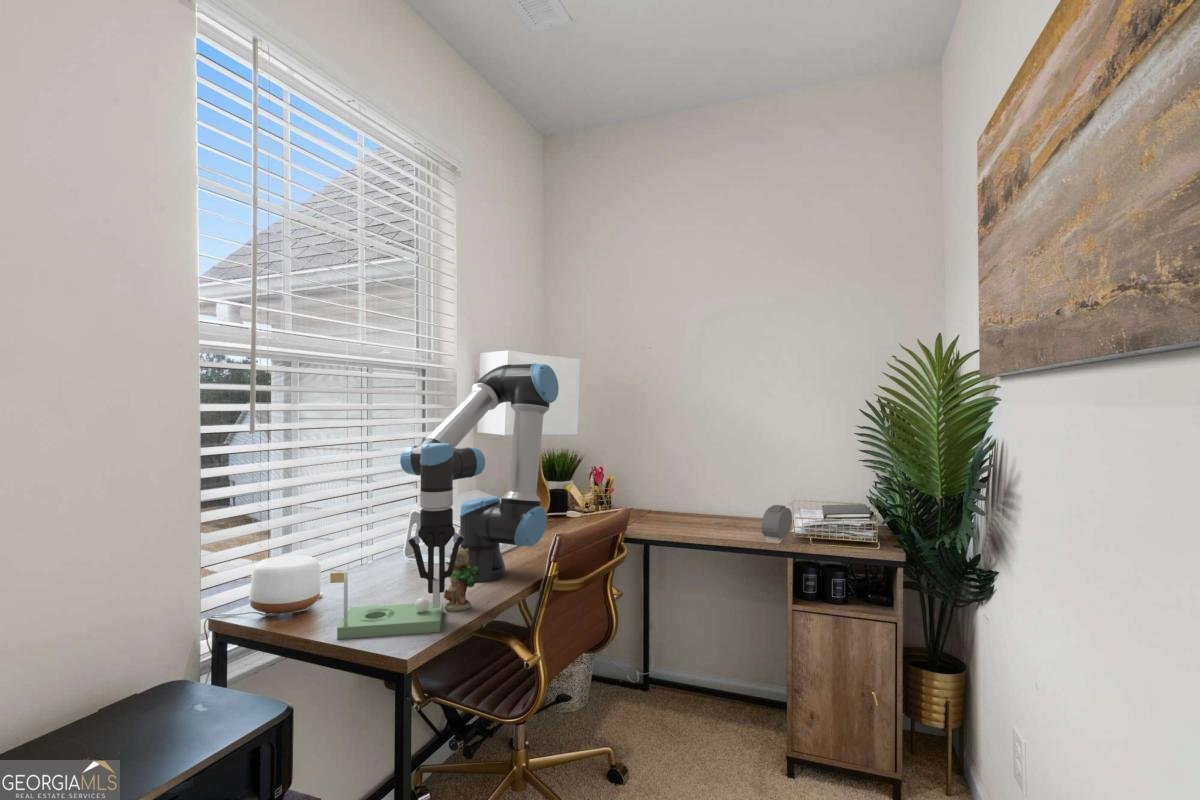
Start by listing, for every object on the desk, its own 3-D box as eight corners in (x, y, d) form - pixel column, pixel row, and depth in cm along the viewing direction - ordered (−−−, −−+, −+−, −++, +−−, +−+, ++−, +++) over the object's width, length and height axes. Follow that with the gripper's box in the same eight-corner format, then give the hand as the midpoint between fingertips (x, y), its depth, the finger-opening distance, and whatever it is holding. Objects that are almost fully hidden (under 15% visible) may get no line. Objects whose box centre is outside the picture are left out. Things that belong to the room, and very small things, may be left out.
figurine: (437, 609, 151) (437, 550, 151) (457, 600, 158) (457, 543, 158) (464, 615, 147) (464, 554, 147) (484, 606, 153) (484, 548, 153)
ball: (429, 609, 144) (429, 595, 144) (428, 614, 141) (428, 599, 141) (415, 610, 143) (415, 596, 143) (413, 615, 140) (413, 600, 140)
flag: (347, 624, 134) (348, 571, 134) (347, 625, 134) (347, 572, 134) (330, 625, 134) (331, 572, 134) (330, 626, 133) (330, 573, 133)
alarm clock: (776, 532, 239) (776, 500, 239) (791, 533, 236) (792, 501, 236) (761, 544, 219) (761, 509, 219) (778, 546, 216) (778, 511, 216)
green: (443, 611, 149) (443, 601, 149) (439, 631, 137) (439, 620, 137) (350, 617, 145) (350, 607, 145) (337, 639, 132) (337, 627, 132)
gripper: (464, 504, 148) (464, 599, 148) (409, 505, 145) (409, 602, 145) (464, 509, 140) (463, 609, 140) (406, 511, 138) (406, 613, 138)
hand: (436, 606), depth 143 cm, fingers closed
